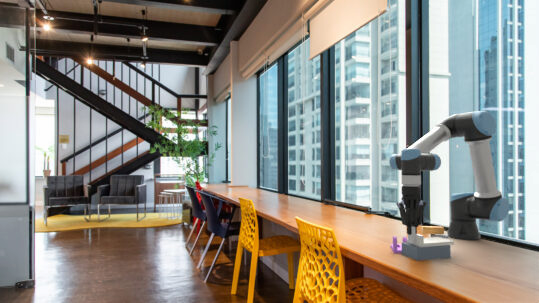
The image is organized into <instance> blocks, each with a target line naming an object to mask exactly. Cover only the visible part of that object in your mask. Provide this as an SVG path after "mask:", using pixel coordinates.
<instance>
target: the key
mask: <svg viewBox="0 0 539 303" xmlns="http://www.w3.org/2000/svg"><path fill="white" fill-rule="evenodd" d="M420 227H421V231H420V232H421V234H422V235H430V236H429V237H441V238H444V239H448V240H450V239H449V238H450V237H449V235H447V234H445V227H443V226H434V225H433V226H432V225H429V226H428V225H421V226H420Z"/></svg>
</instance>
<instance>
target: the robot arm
mask: <svg viewBox="0 0 539 303" xmlns="http://www.w3.org/2000/svg"><path fill="white" fill-rule="evenodd" d="M496 129H497V123H496V119H495V118H494V116H493V115H492V114H491V113H490V112H488V111H485V110H480V111H479V110H476V111H471V112H470V111H469V112H463V113H455V114H452V115H449V116H448V117H446V118H444V119H442V120H440V122H438V123H436V124H435V125H434V126H433V127H432V130H430V131H429V132H428V133H426V134H425V135H423V136H422V137H421V138H419V139H418V140H417V141H416V142H414V143H413V144H412V145H410V146H408V148H403V149H402V150H401V152H400V153H394V154H392V155H391V156H390V158H389V160H388V161H389V166H390V168H391V169H393V170H395V171H401V185H402V186H401V196H402V197H401V199H400V201H399V202H398V201H397V202H396V206H397V207H398V210H399V215H400V219H401V220H400V221H401V224H402V225H404V226H405V227H406V234H407V239H408V242H411V243H416V234H418V227H419V226H420V225H421V226H422V222H423V215H424V211H425V206H426V205H427V202H425V201H424V200H423V199H422V197H421V195H422V187H421V185H422V175H421V174H422V173H421V172H426V171H427V172H432V171H438V169H439V168H440V167H441V166H442V159H441V156H439V155H438V154H436V153H431V151H433V150H434V149H435V148H437V147H438V146H439V145H441V144H442V143H443V142H447V141H449V140H450V139H455V138H463V141H464V143H466V144H468V150H469V154H470V159H471V160H470V161H471V166H472V171H473V176H474V177H473V178H474V184H475V190H476V191H474V192H460V193H459V192H458V193H457V192H456V193H451V194H450V198H449V200H450V201H449V203H450V205H449V206H450V222H449V226H448V229H447V232H446V235H449V238H451V239H458V240H467V241H475V240H480V239H481V233H480V232H479V227H478V225H477V220H483V221H489V222H497V223H498V222H503V221H504V220H505V219H506V218H507V217H508V214H509V212H510V202H509V200H508V199H507V198H505V197H503V195H502V193H503V192H501V191H500V190H498V187H497V181H496V174H495V170H494V163H493V157H492V152H491V145H490V141H491V140H492V138H493V135H494V134H495V133H496V131H497V130H496Z"/></svg>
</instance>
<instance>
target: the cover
mask: <svg viewBox="0 0 539 303" xmlns="http://www.w3.org/2000/svg"><path fill="white" fill-rule="evenodd" d="M407 242H408V238H407ZM408 243H410V244H413V245H416V246H419V247H431V246H444V245H450V246H452V245H455V241H454V240H450V239H446V238H441V237H430V236H429V237H425V236H424V234H419V233H417V234H416V243H411V242H408Z"/></svg>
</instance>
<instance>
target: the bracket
mask: <svg viewBox="0 0 539 303" xmlns="http://www.w3.org/2000/svg"><path fill="white" fill-rule="evenodd" d="M407 239H408V236H402V242H407ZM390 249H391V251H392V252H393V254H402V243H398V236H394V235H393V236H392V243H390Z"/></svg>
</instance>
